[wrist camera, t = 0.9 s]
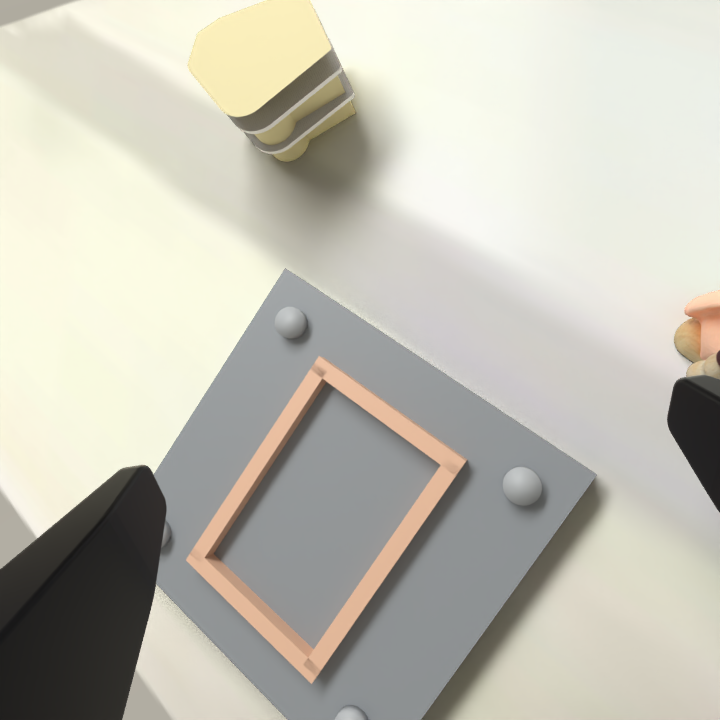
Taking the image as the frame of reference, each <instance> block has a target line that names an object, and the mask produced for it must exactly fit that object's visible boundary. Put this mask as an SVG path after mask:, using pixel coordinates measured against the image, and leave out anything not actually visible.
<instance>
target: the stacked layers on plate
mask: <svg viewBox="0 0 720 720" xmlns="http://www.w3.org/2000/svg"><path fill="white" fill-rule="evenodd" d="M188 68H189V71H190V72H191V74H192V75H193V76H194V77H195V79H196V80H197V81H198V82H199V83H200V85H201V86H202V87H203V88H204V90H205V91H206V92H207V93H208V94H209V96H210V97H211V98H212V99H213V101H214V102H215V103H216V104H217V105H218V107H219V108H220V109H221V110H222V111H223V112H224V113H226V114H227V115H228V117H229V118H230V119H231V120H232V121H233V123H234V124H235V125H236V126H237V127H238V128H239V129H240V130H241V131H243V132H244V133H245V134H246V135H247V137H248V138H249V139H250V140H251V141H252V143H253V144H254V145H255V146H256V147H257V148H258V149H259V150H260V151H262V152H264V153H267V154H273V156H274V157H275V158H277V159H278V160H280V161H284V162H289V161H293V160H295V159H297V158H299V157H300V156H301V155H302V154H303V153H304V152H305V151H306V149H307V147H308V144H309V141H310V140H311V139H313V138H315V137H316V136H318V135H320V134H321V133H323V132H325V131H326V130H328V129H330V128H332V127H333V126H335V125H337V124H338V123H340V122H342V121H343V120H345V119H347V118H348V117H350V116H352V115H353V114H355V113H356V112H355V109H354V107H353V105H352V103H351V101H350V100H352V99H353V98H354V96H355V94H354V92H353V90H352V87H351V85H350V83H349V81H348V79H347V77H346V74H345V72H344V70H343V68H342V66H341V64H340V61H339V59H338V57H337V55H336V53H335V51H334V48H333V46H332V44H331V42H330V40H329V38H328V37H327V35H326V33H325V30H324V28H323V26H322V24H321V22H320V20H319V17H318V15H317V13H316V11H315V9H314V8H313V6H312V3H311V1H310V0H266V1H263V2H261V3H258V4H255V5H253V6H250V7H247V8H245V9H242V10H239V11H237V12H234V13H231V14H229V15H226V16H223V17H221V18H219V19H217V20H216V21H214V22H213V23H211V24H210V25H208V26H207V27H206V28H204V29H203V30H201V31H200V32H198V33H197V36H196V39H195V42H194V45H193V49H192V52H191V55H190V58H189V61H188Z"/></svg>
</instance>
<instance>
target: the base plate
mask: <svg viewBox="0 0 720 720" xmlns="http://www.w3.org/2000/svg"><path fill="white" fill-rule="evenodd" d="M596 476H597V474H595V473H594V472H592V471H591V470H589V469H588V468H586V467H585V466H583V465H582V464H580V463H579V462H577V461H576V460H574V459H573V458H571V457H570V456H568V455H567V454H565V453H564V452H562V451H561V450H559V449H558V448H556V447H555V446H553V445H552V444H550V443H549V442H547V441H546V440H544V439H542V438H541V437H539V436H538V435H536V434H535V433H533V432H532V431H530V430H529V429H527V428H526V427H524V426H523V425H521V424H520V423H518V422H517V421H515V420H514V419H512V418H511V417H509V416H508V415H506V414H505V413H503V412H502V411H500V410H499V409H497V408H496V407H494V406H493V405H491V404H490V403H488V402H487V401H485V400H484V399H482V398H481V397H479V396H478V395H476V394H475V393H473V392H472V391H470V390H469V389H467V388H465V387H464V386H462V385H461V384H459V383H458V382H456V381H455V380H453V379H452V378H450V377H449V376H447V375H446V374H444V373H443V372H441V371H440V370H438V369H437V368H435V367H434V366H432V365H431V364H429V363H428V362H426V361H425V360H423V359H422V358H420V357H419V356H417V355H416V354H414V353H413V352H411V351H410V350H408V349H407V348H405V347H404V346H402V345H401V344H399V343H398V342H396V341H395V340H393V339H391V338H390V337H388V336H387V335H385V334H384V333H382V332H381V331H379V330H378V329H376V328H375V327H373V326H372V325H370V324H369V323H367V322H366V321H364V320H363V319H361V318H360V317H358V316H357V315H355V314H354V313H352V312H351V311H349V310H348V309H346V308H345V307H343V306H342V305H340V304H339V303H337V302H336V301H334V300H333V299H331V298H330V297H328V296H327V295H325V294H324V293H322V292H321V291H319V290H318V289H316V288H314V287H313V286H311V285H310V284H308V283H307V282H305V281H304V280H302V279H301V278H299V277H298V276H296V275H295V274H293V273H292V272H290V271H289V270H287V269H286V268H285V269H284V271H283V273H282V274H281V276H280V277H279V279H278V280H277V282H276V284H275V285H274V287H273V288H272V290H271V291H270V293H269V295H268V296H267V298H266V299H265V301H264V302H263V304H262V306H261V307H260V309H259V310H258V312H257V313H256V315H255V317H254V318H253V320H252V321H251V323H250V324H249V326H248V328H247V329H246V331H245V332H244V334H243V335H242V337H241V338H240V340H239V342H238V343H237V345H236V346H235V348H234V349H233V351H232V353H231V354H230V356H229V357H228V359H227V360H226V362H225V364H224V365H223V367H222V368H221V370H220V371H219V373H218V375H217V376H216V378H215V379H214V381H213V382H212V384H211V386H210V387H209V389H208V390H207V392H206V393H205V395H204V397H203V398H202V400H201V401H200V403H199V404H198V406H197V408H196V409H195V411H194V412H193V414H192V415H191V417H190V419H189V420H188V422H187V423H186V425H185V426H184V428H183V430H182V431H181V433H180V434H179V436H178V437H177V439H176V441H175V442H174V444H173V445H172V447H171V448H170V450H169V451H168V453H167V455H166V456H165V458H164V459H163V461H162V462H161V464H160V466H159V467H158V469H157V470H156V472H155V473H154V477H155V479H156V481H157V483H158V485H159V487H160V489H161V491H162V493H163V495H164V497H165V500H166V505H167V512H166V520H165V527H164V533H163V540H162V547H161V554H160V561H159V567H158V574H157V581H156V584H157V585H158V586H159V587H160V588H161V589H162V590H163V591H164V592H165V593H166V594H167V595H168V596H169V598H170V599H171V600H172V601H173V602H174V603H175V604H176V605H177V606H178V607H179V608H180V609H181V610H182V611H183V612H184V613H185V614H186V615H187V616H188V617H189V618H190V619H191V620H192V621H193V622H194V623H195V624H196V625H197V626H198V627H199V629H200V630H201V631H202V632H203V633H204V634H205V635H206V636H207V637H208V638H209V639H210V640H211V641H212V642H213V643H214V644H215V645H216V646H217V647H218V648H219V649H220V650H221V651H222V652H223V653H224V654H225V655H226V656H227V657H228V658H229V660H230V661H231V662H232V663H233V664H234V665H235V666H236V667H237V668H238V669H239V670H240V671H241V672H242V673H243V674H244V675H245V676H246V677H247V678H248V679H249V680H250V681H251V682H252V683H253V684H254V685H255V686H256V687H257V688H258V689H259V691H260V692H261V693H262V694H263V695H264V696H265V697H266V698H267V699H268V700H269V701H270V702H271V703H272V704H273V705H274V706H275V707H276V708H277V709H278V710H279V711H280V712H281V713H282V714H283V715H284V716H285V717H286V718H287V719H288V720H421V719H422V718H423V716H424V715H425V714H426V712H427V711H428V709H429V708H430V707H431V705H432V704H433V702H434V701H435V700H436V698H437V697H438V695H439V694H440V693H441V691H442V690H443V688H444V687H445V686H446V684H447V683H448V682H449V680H450V679H451V677H452V676H453V675H454V673H455V672H456V670H457V669H458V668H459V666H460V665H461V663H462V662H463V661H464V659H465V658H466V656H467V655H468V654H469V652H470V651H471V649H472V648H473V647H474V645H475V644H476V643H477V641H478V640H479V638H480V637H481V636H482V634H483V633H484V631H485V630H486V629H487V627H488V626H489V624H490V623H491V622H492V620H493V619H494V617H495V616H496V615H497V613H498V612H499V611H500V609H501V608H502V606H503V605H504V604H505V602H506V601H507V599H508V598H509V597H510V595H511V594H512V592H513V591H514V590H515V588H516V587H517V585H518V584H519V583H520V581H521V580H522V579H523V577H524V576H525V574H526V573H527V572H528V570H529V569H530V567H531V566H532V565H533V563H534V562H535V560H536V559H537V558H538V556H539V555H540V553H541V552H542V551H543V549H544V548H545V547H546V545H547V544H548V542H549V541H550V540H551V538H552V537H553V535H554V534H555V533H556V531H557V530H558V528H559V527H560V526H561V524H562V523H563V521H564V520H565V519H566V517H567V516H568V514H569V513H570V512H571V510H572V509H573V508H574V506H575V505H576V503H577V502H578V501H579V499H580V498H581V496H582V495H583V494H584V492H585V491H586V489H587V488H588V487H589V485H590V484H591V482H592V481H593V480H594V478H595V477H596Z"/></svg>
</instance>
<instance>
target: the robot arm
mask: <svg viewBox="0 0 720 720" xmlns="http://www.w3.org/2000/svg"><path fill="white" fill-rule="evenodd" d="M667 422H668V427H669V430H670V432H671V434H672V435H673V437H674V439H675V440H676V442H677V444H678V445H679V447H680V449H681V450H682V452H683V454H684V455H685V457H686V459H687V460H688V462H689V464H690V465H691V467H692V469H693V470H694V472H695V474H696V475H697V477H698V479H699V480H700V482H701V484H702V485H703V487H704V489H705V490H706V492H707V494H708V495H709V497H710V498H711V500H712V502H713V503H714V505H715V506H716V508H717V509H718V511H719V512H720V379H717V378H714V377H711V376H708V375H696V376H690V377H684V378H680V379H678V380H677V381H676V382H675V384H674V387H673V392H672V397H671V402H670V406H669V411H668V417H667ZM166 512H167V505H166V500H165V497H164V495H163V493H162V491H161V489H160V487H159V485H158V483H157V481H156V479H155V477H154V475H153V473H152V471H151V469H150V468H149V467H148V466H146V465H138V466H132V467H126V468H122V469H120V470H119V471H118V472H117V473H115V474H114V475H113V476H112V477H111V478H109V479H108V480H107V481H106V482H105V483H103V484H102V485H101V486H100V487H99V488H97V489H96V490H95V491H94V492H93V493H91V494H90V495H89V496H88V497H87V498H85V499H84V500H83V501H82V502H81V503H79V504H78V505H77V506H76V507H75V508H73V509H72V510H71V511H70V512H69V513H67V514H66V515H65V516H64V517H63V518H61V519H60V520H59V521H58V522H57V523H55V524H54V525H53V526H52V527H51V528H49V529H48V530H47V531H46V532H45V533H43V534H42V535H41V536H40V537H39V538H37V539H36V540H35V541H34V542H33V543H31V544H30V545H29V546H28V547H27V548H25V549H24V550H23V551H22V552H21V553H19V554H18V555H17V556H16V557H15V558H13V559H12V560H11V561H10V562H9V563H7V564H6V565H5V566H4V567H3V568H1V569H0V720H122V718H123V714H124V710H125V707H126V703H127V698H128V695H129V691H130V687H131V684H132V679H133V676H134V672H135V668H136V664H137V660H138V657H139V653H140V649H141V645H142V641H143V637H144V634H145V630H146V626H147V622H148V618H149V614H150V610H151V606H152V602H153V598H154V592H155V587H156V581H157V574H158V567H159V561H160V554H161V547H162V540H163V533H164V527H165V520H166Z"/></svg>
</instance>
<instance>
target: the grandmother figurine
mask: <svg viewBox="0 0 720 720" xmlns="http://www.w3.org/2000/svg"><path fill="white" fill-rule="evenodd" d="M685 314H686V315H688V316H689V317H693V318H691V319H689V320H687V321H686V322H684V323H683V324H682V325H681V326H680V327H679V328H678V329H677V331H676V333H675V336H674V343H675V346H676V348H677V350H678V351H679V352H680V353H681V354H682V355H684V356H685V357H686V358H688V359H689V360H691V361H692V362H694V363H693V364H692V365H691V366H690V367H689V368H688V370H687V373H686V377H690V376H696V375H708V376H711V377H714V378H717V379H720V290H718V291H715V292H710V293H707V294H705V295H702V296H699V297H696V298H695V299H693V300H692V301H690V302H689V303H688V304H687V305H686V307H685Z"/></svg>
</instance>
